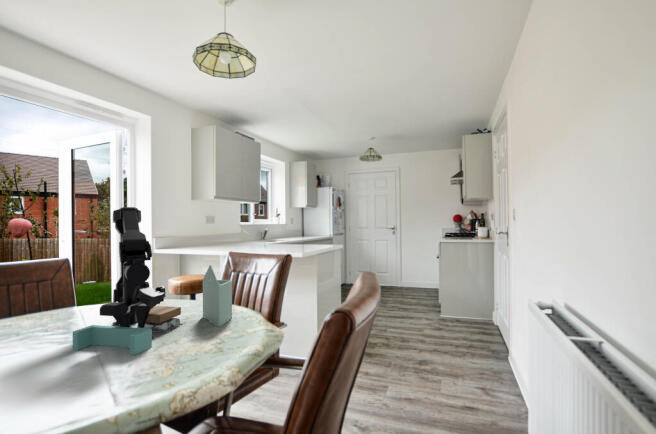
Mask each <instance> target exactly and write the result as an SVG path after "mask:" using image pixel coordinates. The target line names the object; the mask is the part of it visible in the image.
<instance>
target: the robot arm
mask: <svg viewBox="0 0 656 434" xmlns="http://www.w3.org/2000/svg"><path fill="white" fill-rule="evenodd" d="M141 221H142V210H140V209H139V208H137V207H135V206H134V207H133V206H129V207H127V206H122V207H120V208H119V209H115V210H113V211H112V223H114V228H115V230H116V231H117V232H118V234H119V239H120V240H119V242H118V253H119V256H118V257H119V262H120V277H119V279H118V280H117V282H116V284H115V289H113V291H112V292H113V293H112V302H108V303H105V304H104V303H103V304H102V305H101V306H100V307H99V316H104V317H113V318H114V320H115V321H114V322H112V325H116V326H117V325H119V326H118V327H131V325H132V324H134V323H137V325H138V326H139V328H144V325H145V322H146V320H147V317H148V314H149V312H150V310H151V309H152V308H154V307H157V306H158V305H160V304H161V303H162V302H164V299H165V297H166V287H165V286H163V285H160V286H157V287H153V288H152V287H150V283H149V281H147V280H148V279H149V278H150V275H151V271H150V269H149V267H148V265H146V261H151V258H152V257H153V251H152V245H151V244H150V241H149V240H147V237H146V234H144V233H143V232H141V231H140V230H141V229H140V226H139V225H140V224H141ZM139 223H140V224H139ZM135 314H136V317H137V322H135Z"/></svg>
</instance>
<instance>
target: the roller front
mask: <svg viewBox="0 0 656 434" xmlns="http://www.w3.org/2000/svg"><path fill="white" fill-rule="evenodd" d="M136 328H139V326H138V324H137V325H136ZM144 328H149V329H152V331H163V332H165V333H167V332H169V331H170V330H171V329H170V328H171V324H170V323H169V322H161V323H151V322H145V325H144Z"/></svg>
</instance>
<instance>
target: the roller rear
mask: <svg viewBox="0 0 656 434" xmlns="http://www.w3.org/2000/svg"><path fill="white" fill-rule="evenodd" d="M164 322H169V323H170V324H171V327H175V328H176V329H177V328H178V327H180V326H181V325H180V324H181V319H180V317H174V318H171V319H169V320H166V321H164ZM175 328H174V329H175Z"/></svg>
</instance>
